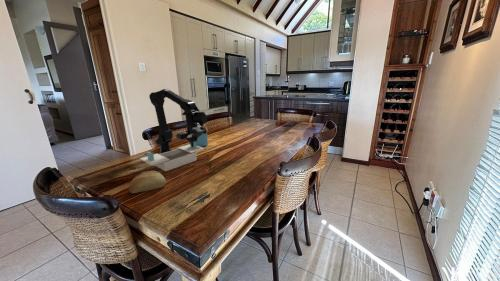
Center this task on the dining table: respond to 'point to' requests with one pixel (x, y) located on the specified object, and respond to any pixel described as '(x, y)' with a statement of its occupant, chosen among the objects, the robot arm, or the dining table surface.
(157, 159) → the near flap
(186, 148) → the far flap
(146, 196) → the dining table surface
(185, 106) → the robot arm
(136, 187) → the bread roll
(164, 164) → the carton
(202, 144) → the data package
